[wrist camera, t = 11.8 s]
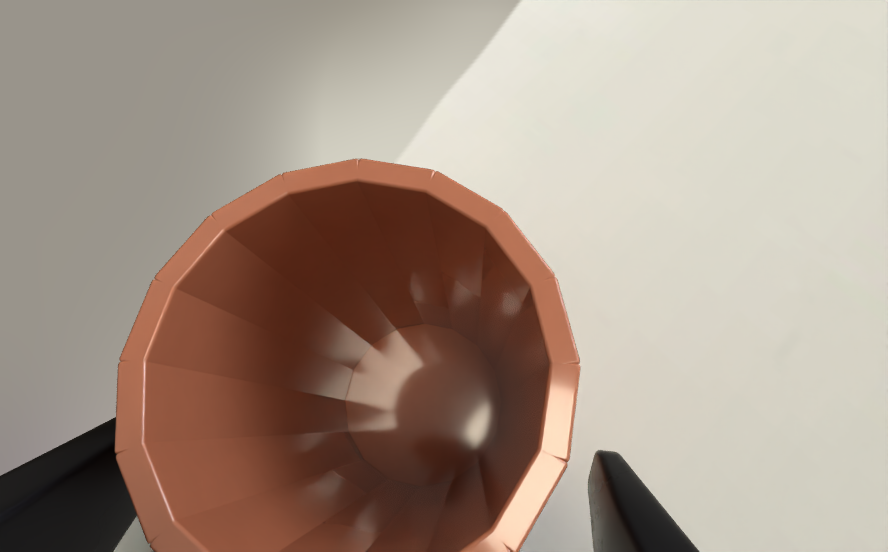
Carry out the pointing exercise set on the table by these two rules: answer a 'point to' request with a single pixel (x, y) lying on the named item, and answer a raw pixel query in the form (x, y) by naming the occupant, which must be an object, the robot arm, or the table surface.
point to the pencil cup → (348, 373)
